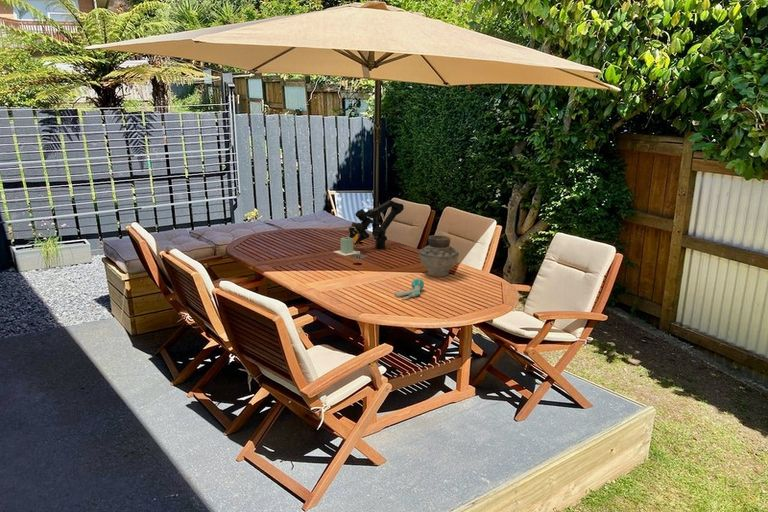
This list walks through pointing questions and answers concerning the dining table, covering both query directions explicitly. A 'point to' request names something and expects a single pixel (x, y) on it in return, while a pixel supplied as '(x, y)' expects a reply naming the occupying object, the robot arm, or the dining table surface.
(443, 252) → the ceramic pot
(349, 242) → the sleeve
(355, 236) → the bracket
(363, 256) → the stand
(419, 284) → the garden hose nozzle
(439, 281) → the dining table surface
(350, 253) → the board
